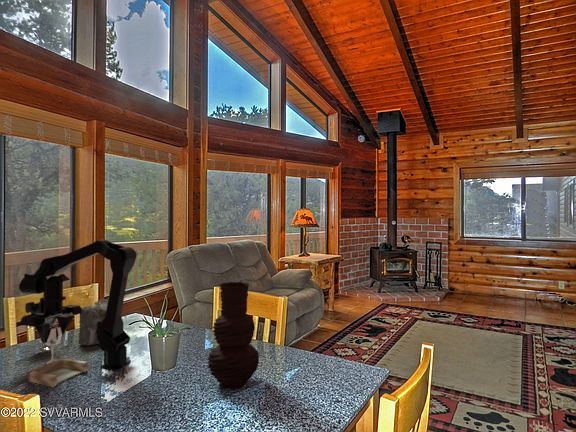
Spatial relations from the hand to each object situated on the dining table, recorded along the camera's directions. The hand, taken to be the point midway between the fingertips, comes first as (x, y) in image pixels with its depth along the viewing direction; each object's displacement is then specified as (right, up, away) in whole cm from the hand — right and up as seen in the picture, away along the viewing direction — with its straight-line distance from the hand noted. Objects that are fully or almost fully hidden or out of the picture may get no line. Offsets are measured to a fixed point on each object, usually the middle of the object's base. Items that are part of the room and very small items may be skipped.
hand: (52, 340), depth 131 cm
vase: (+63, -9, -15) cm, 66 cm away
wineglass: (0, -8, 0) cm, 8 cm away
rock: (+5, -8, +26) cm, 27 cm away
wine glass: (-10, -8, +13) cm, 18 cm away
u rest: (+9, -8, -11) cm, 16 cm away
